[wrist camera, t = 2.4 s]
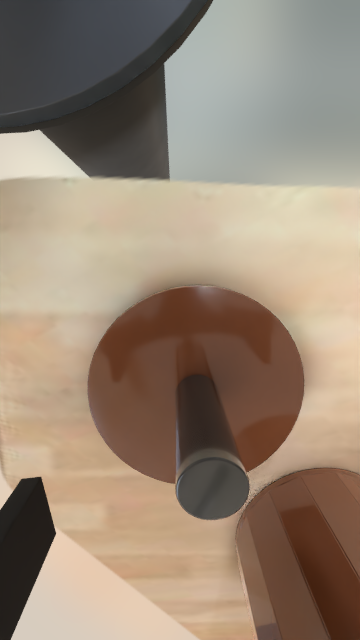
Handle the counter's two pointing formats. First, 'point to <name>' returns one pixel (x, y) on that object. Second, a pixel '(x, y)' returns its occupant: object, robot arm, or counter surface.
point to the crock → (303, 557)
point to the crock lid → (196, 392)
